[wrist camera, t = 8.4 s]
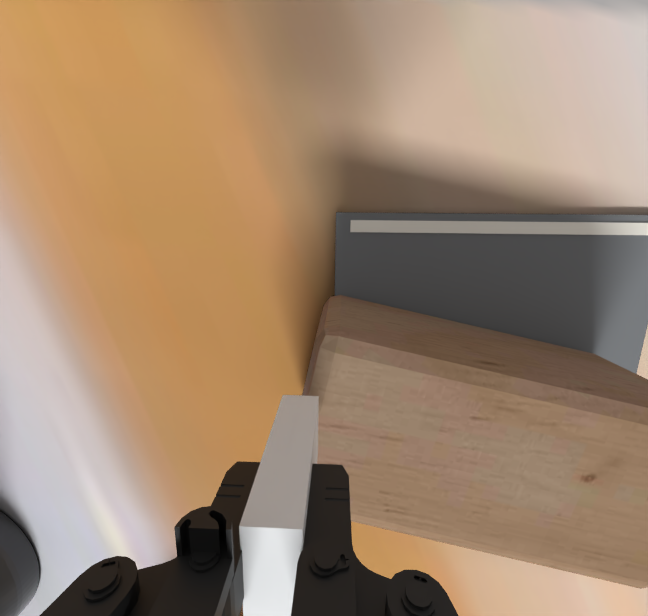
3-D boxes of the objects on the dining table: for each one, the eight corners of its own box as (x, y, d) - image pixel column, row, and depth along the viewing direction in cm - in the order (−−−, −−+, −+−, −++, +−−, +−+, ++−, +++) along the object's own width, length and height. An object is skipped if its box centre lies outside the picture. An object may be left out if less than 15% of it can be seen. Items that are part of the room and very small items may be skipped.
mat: (332, 430, 28) (332, 434, 27) (336, 212, 24) (336, 212, 24) (614, 441, 27) (620, 445, 26) (665, 215, 23) (674, 215, 23)
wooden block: (317, 326, 15) (762, 429, 15) (327, 289, 25) (598, 352, 25) (275, 513, 17) (662, 603, 17) (299, 412, 27) (547, 469, 27)
